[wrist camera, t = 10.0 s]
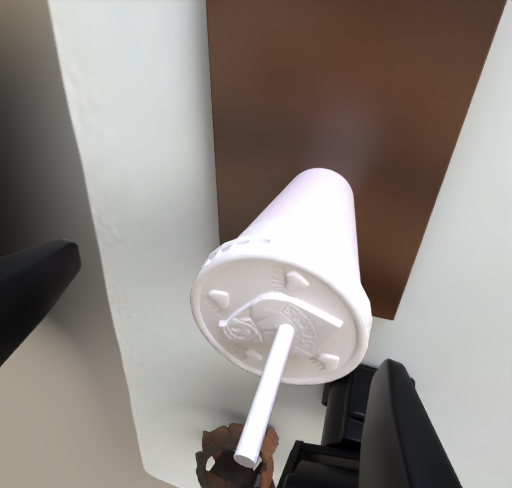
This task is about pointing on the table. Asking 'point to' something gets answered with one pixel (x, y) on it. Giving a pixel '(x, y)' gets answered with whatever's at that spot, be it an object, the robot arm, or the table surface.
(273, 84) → the board
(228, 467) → the brown irregular piece
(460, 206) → the table surface
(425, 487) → the robot arm
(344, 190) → the smoothie
